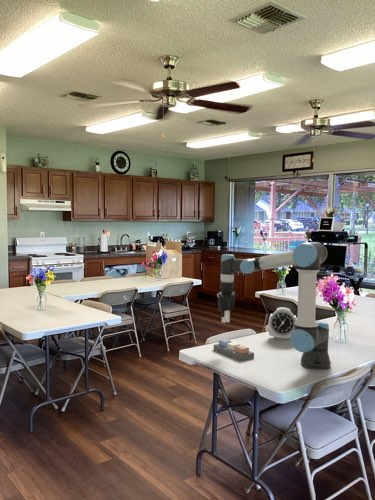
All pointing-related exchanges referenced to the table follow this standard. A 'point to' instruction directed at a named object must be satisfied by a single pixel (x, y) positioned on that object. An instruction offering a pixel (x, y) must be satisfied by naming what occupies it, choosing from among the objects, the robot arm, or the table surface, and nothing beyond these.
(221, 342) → the blue key
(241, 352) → the terracotta key
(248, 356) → the key board
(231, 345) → the cream key
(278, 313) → the alarm clock
